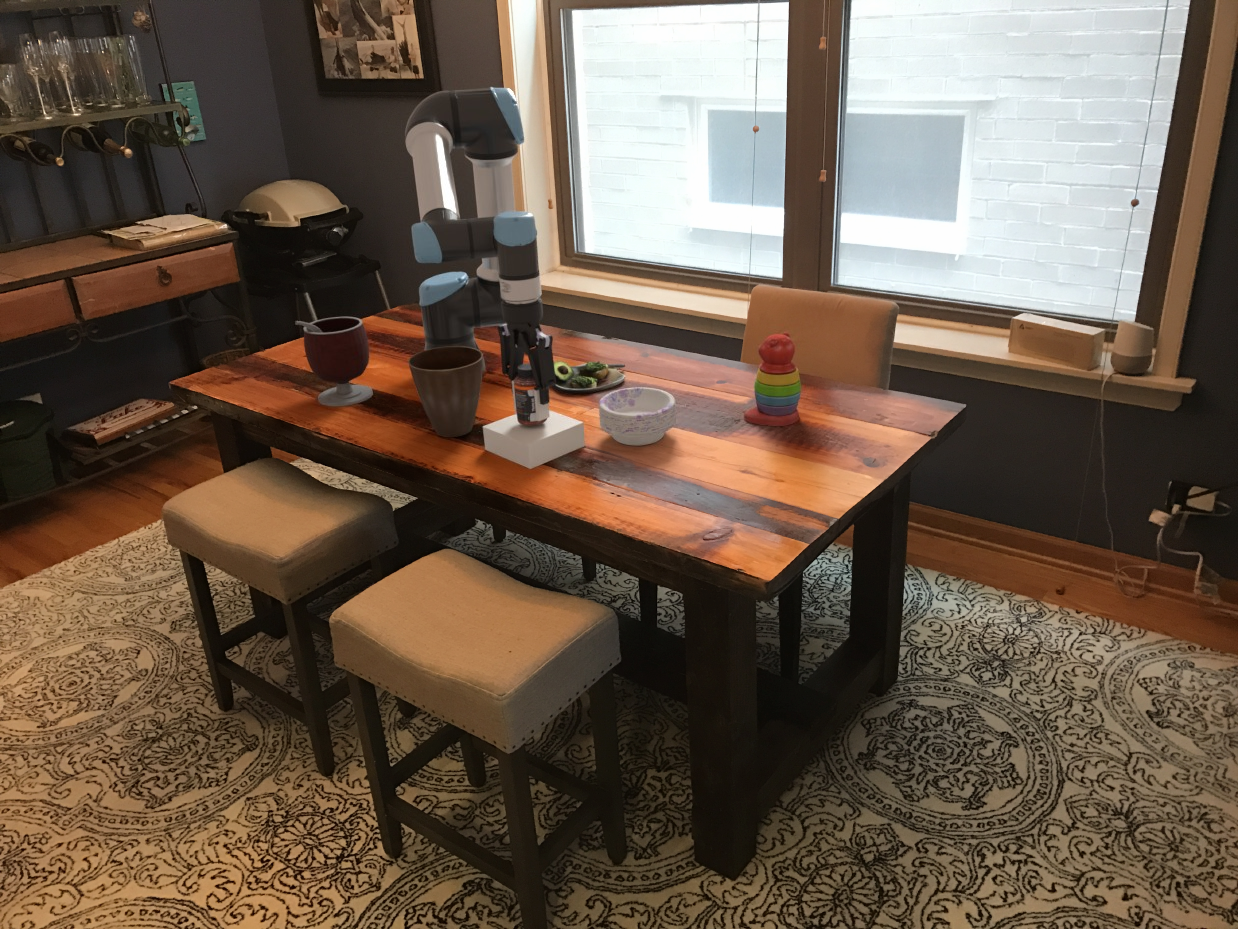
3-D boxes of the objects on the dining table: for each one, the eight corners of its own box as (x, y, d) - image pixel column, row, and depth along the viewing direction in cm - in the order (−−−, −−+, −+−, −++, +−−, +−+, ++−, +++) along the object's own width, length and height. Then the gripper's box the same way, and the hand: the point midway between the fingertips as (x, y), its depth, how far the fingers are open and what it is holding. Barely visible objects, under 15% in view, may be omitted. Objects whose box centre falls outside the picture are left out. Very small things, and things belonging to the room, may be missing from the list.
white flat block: (485, 449, 195) (482, 426, 193) (539, 428, 204) (537, 405, 202) (530, 469, 186) (528, 444, 184) (585, 445, 194) (583, 422, 192)
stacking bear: (771, 404, 210) (773, 323, 202) (811, 415, 203) (814, 332, 195) (739, 419, 203) (739, 336, 195) (779, 431, 196) (781, 346, 189)
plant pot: (500, 418, 210) (492, 346, 203) (477, 446, 197) (468, 370, 190) (434, 415, 213) (424, 345, 206) (407, 443, 200) (396, 368, 193)
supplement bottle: (543, 427, 189) (538, 371, 184) (513, 426, 190) (508, 371, 186) (551, 415, 194) (546, 361, 190) (522, 414, 196) (517, 360, 191)
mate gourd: (356, 381, 236) (342, 300, 227) (388, 394, 227) (374, 310, 218) (297, 400, 226) (280, 315, 218) (327, 414, 217) (311, 326, 209)
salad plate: (610, 362, 241) (609, 344, 239) (644, 383, 226) (643, 364, 224) (537, 377, 233) (535, 359, 231) (567, 400, 219) (565, 381, 217)
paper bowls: (655, 457, 188) (653, 419, 185) (586, 445, 195) (584, 407, 192) (689, 428, 200) (688, 392, 197) (623, 418, 207) (621, 382, 204)
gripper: (474, 295, 186) (487, 408, 196) (538, 311, 174) (549, 432, 183) (505, 286, 191) (516, 398, 200) (570, 302, 178) (578, 420, 188)
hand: (532, 414), depth 192 cm, fingers closed on supplement bottle, 6 cm apart
